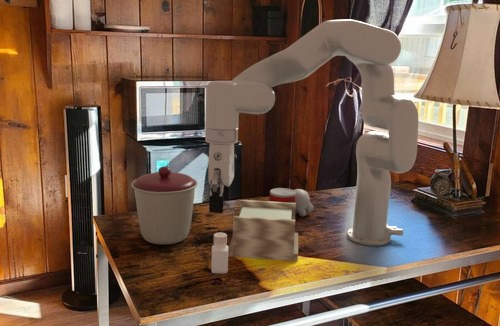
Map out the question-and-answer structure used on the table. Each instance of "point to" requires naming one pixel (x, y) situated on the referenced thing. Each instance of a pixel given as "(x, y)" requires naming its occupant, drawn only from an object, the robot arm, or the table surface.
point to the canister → (164, 205)
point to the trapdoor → (266, 212)
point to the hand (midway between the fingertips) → (219, 205)
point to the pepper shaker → (220, 254)
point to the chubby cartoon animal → (302, 202)
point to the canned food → (282, 195)
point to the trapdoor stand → (264, 234)
